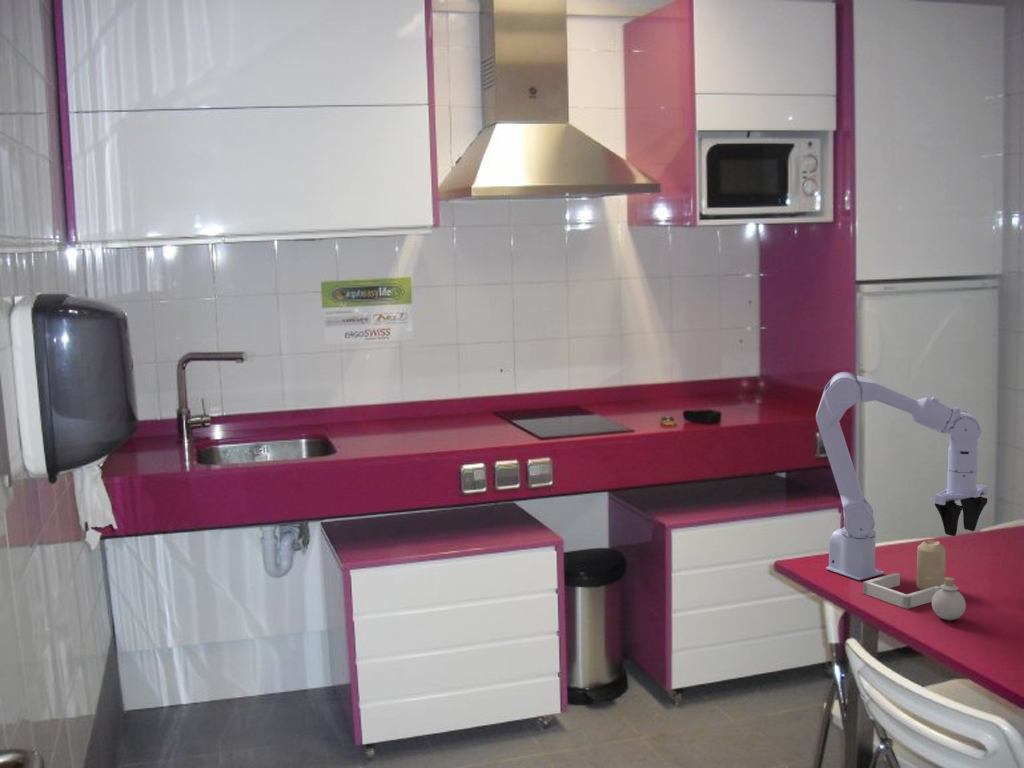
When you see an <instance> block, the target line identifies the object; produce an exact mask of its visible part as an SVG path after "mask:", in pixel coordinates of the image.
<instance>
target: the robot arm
mask: <svg viewBox="0 0 1024 768" xmlns="http://www.w3.org/2000/svg"><path fill="white" fill-rule="evenodd" d="M823 389H824V390H823V393H822V396H821V398H820V402H819V404H818V408H817V410H816V413H815V421H816V424H817V425H816V426H817V427H818V431H819V434H820V437H821V440H822V443H823V447H824V449H825V454H826V456H827V459H828V462H829V465H830V469H831V471H832V474H833V477H834V481H835V484H836V486H837V490H838V493H839V496H840V500H841V505H842V508H843V509H842V510H843V511H842V514H843V527H842V528H837V529H836V530H834V531H833V532H832V534H831V535H830V538H829V541H828V545H829V546H828V566H826V570H828V571H831V572H833V573H836V574H839V575H843V576H844V577H848V578H851V579H854V580H857V581H861V580H862V581H863V580H867V579H870V578H872V577H877V576H881V575H884V573H885V572H884V571H882V570H879V569H877V568H876V538H877V536H876V535H877V534H876V533H877V532H876V531H875V530H874V529H875V527H876V526H875V524H876V523H875V519H874V511H873V510H874V509H873V507H872V506H871V504H870V503H869V502H868V501H867V500H866V499H865V497H864V494H863V491H862V488H861V485H860V481H859V479H858V477H857V472H856V470H855V467H854V464H853V461H852V458H851V454H850V451H849V448H848V445H847V442H846V438H845V435H844V433H843V430H842V426H841V422H840V421H841V419H842V418H843V416H844V414H845V413H846V411H847V410H849V409H850V408H851V407H853V406H854V405H855V404H856V403H857V402H858V401H859V399H860V402H861V403H863V404H864V403H868V402H872V401H875V402H879V403H882V404H883V405H884V404H885V405H887V406H890V407H893V408H895V409H898V410H900V411H903V412H906V413H908V414H911V416H912V419H913V421H914V423H917V424H920V425H922V426H925V427H927V428H929V429H931V430H933V431H936V432H938V433H940V434H948V435H949V434H950V435H949V446H948V448H947V449H948V451H947V471H946V472H947V478H946V482H947V483H946V488H945V489H943V490H942V491H941V492H940V491H939V492H938V493H935V494H934V506H935V508H936V510H937V511H938V513H939V516H940V518H941V521H942V525H943V529H944V533H945V535H947V536H951V537H955V536H956V535H957V532H958V526H959V518H960V515H961V513H962V516H963V517H962V520H963V521H962V523H963V528H964V530H965V531H971V532H975V531H976V528H977V524H978V521H979V518H980V516H981V513H982V511H983V510H984V509H985V507H986V505H987V504H988V498H987V497H984V496H987V495H988V485H984V484H980V483H979V484H977V483H978V482H977V481H978V460H979V459H978V455H979V453H978V452H979V449H978V445H979V444H978V443H979V442H978V439H979V438H980V436H981V434H982V430H981V426H980V424H979V422H978V420H977V419H976V417H975V416H973V415H972V414H971V413H969V412H968V411H967V410H962V409H961V408H960V407H957V406H956V407H951V406H949V405H946V404H944V403H942V402H939V401H940V400H939V399H938V398H937V397H936V396H935V397H934V396H932V397H931V398H930V397H927V396H926V397H923V398H920V399H916V398H914V397H912V396H909V395H907V394H904V393H903V392H900V391H898V390H895V389H893V388H891V387H890V386H887V385H886V384H885V385H884V384H883V383H881V382H878V381H877V380H873V379H870V378H868V377H865V376H861V375H856V376H855V374H853V373H851V372H848V371H840V372H838V373H836V374H835V373H834V375H833V376H832V377H831V379H829V381H828V382H827V384H826V385H825V386H824V388H823ZM957 501H960V504H961V505H960V504H957Z"/></svg>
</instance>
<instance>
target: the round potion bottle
mask: <svg viewBox="0 0 1024 768" xmlns="http://www.w3.org/2000/svg"><path fill="white" fill-rule="evenodd" d="M937 572H938V575H939V573H940V571H939V569H938V571H937ZM926 579H929V582H930V580H931V579H934V578H931V577H930V576H929V578H926ZM944 579H945V584H943V585H941V586H940V587H941V588H942V589H940V590H939V591H937V592H936V593H935V594H934V596H933V598H932V602H931V608H932V611H933V612H934V613H935V615H936V616H938V617H939V618H941V619H943V620H946V621H954V620H958V619H959V618H960V617H962V616H963V614H964V613H965V612H966V607H967V606H966V604H967V603H966V600H965V597H964V596H963V594H962V593H961V592H960V591H958V590H959V587H958V586H957V585H955V584H954V582H955V578H954V577H949V576H945V578H944ZM932 590H933V591H934V590H936V589H934V588H933V589H932Z"/></svg>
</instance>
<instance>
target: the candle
mask: <svg viewBox="0 0 1024 768" xmlns="http://www.w3.org/2000/svg"><path fill="white" fill-rule="evenodd" d="M916 553H917V554H916V555H917V556H916V582H915V583H916V588H917V589H919V590H924V589H927V588H931V587H934V586H939V587H940V586H941V585H943V584H945V579H944V578H946V557H947V556H946V554H947V549H946V548H945V547H944V546H943V544H942V543H941V542H940V541H939V540H938V541H935V540H933V539H929V540H927V541H926V540H923V541H922V542H921V543H920V544H919V545H918V546H917V551H916ZM938 569H939V571H940V573H939V575H938V572H937V571H938ZM929 576H930V577H931V578H934V579H931V580H930V582H929V579H926V578H929ZM941 589H942V588H941Z"/></svg>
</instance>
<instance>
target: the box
mask: <svg viewBox="0 0 1024 768" xmlns="http://www.w3.org/2000/svg"><path fill="white" fill-rule="evenodd" d="M862 584H863V585H862V593H863V594H864V595H867V596H870V597H872V598H875V599H878V600H880V601H884V602H886V603H889V604H892V605H894V606H897V607H899V608H903V609H905V610H909V609H912V608H916V607H919V606H921V605H925V604H928V603H932V598H933V596H934V594H935V593H936V592H937V591H939V590H940V589H941V587H939V586H934V587H931V588H927V589H924V590H921V589H919V590H917V591H914V592H910V593H907V594H906V593H904V592H900V591H898V590H895V589H893V588H895V587H899V586H900V585H901V574H900V573H899V572H894V573H891V574H887V575H882V576H879V577H876V578H873V579H872V578H871V579H869V580H865V581H863V582H862ZM933 588H934V589H936V590H934V591H933V590H932V589H933Z"/></svg>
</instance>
